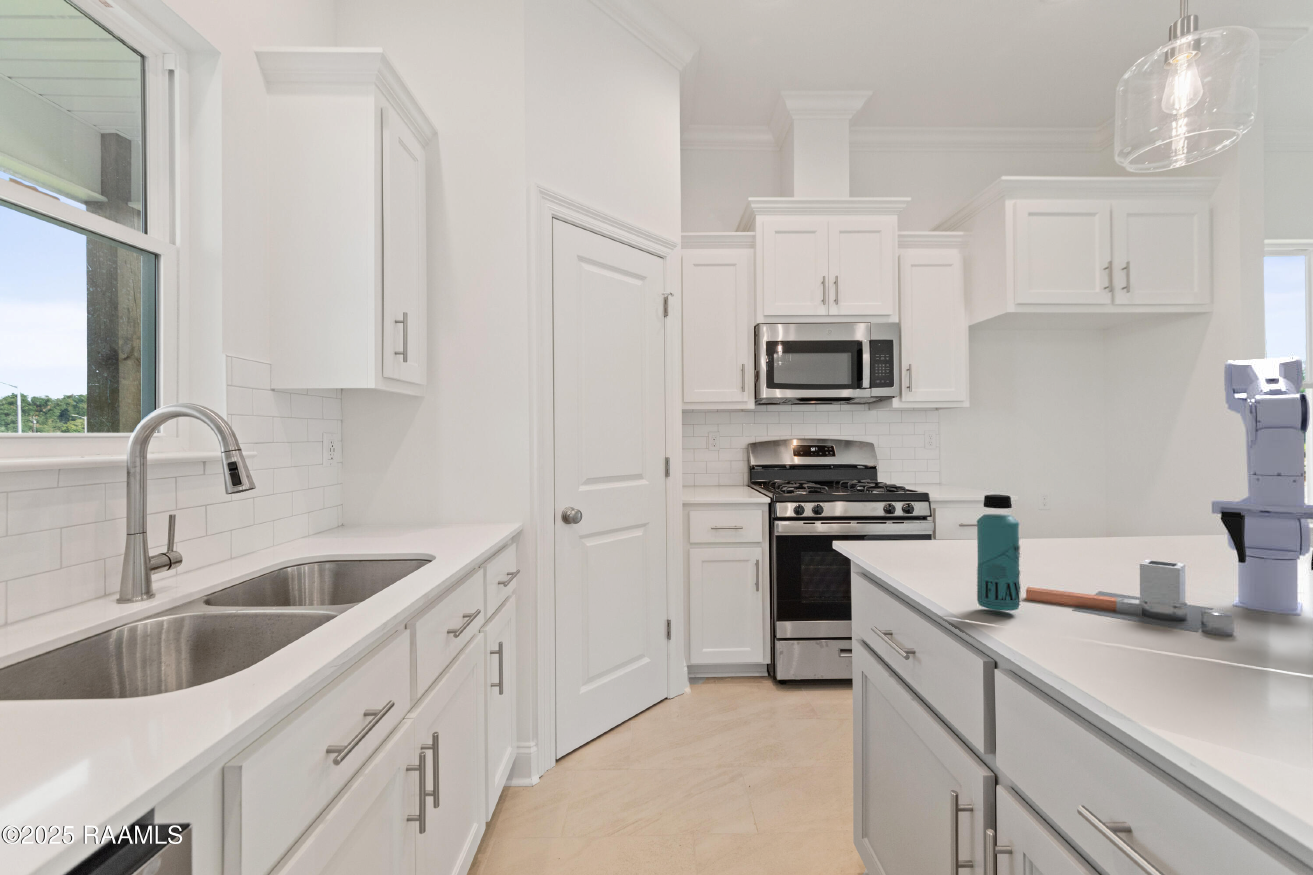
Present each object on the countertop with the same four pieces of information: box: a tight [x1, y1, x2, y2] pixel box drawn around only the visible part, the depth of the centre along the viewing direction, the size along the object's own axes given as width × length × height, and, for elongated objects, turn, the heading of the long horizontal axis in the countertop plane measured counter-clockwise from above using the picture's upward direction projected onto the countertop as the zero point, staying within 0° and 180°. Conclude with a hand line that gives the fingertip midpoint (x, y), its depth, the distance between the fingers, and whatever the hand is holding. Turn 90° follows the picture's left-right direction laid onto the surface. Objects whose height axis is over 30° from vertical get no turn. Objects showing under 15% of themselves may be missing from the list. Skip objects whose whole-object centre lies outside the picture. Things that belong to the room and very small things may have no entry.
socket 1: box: [1139, 559, 1186, 607], centre depth 100 cm, size 5×5×6 cm
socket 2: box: [1200, 609, 1235, 638], centre depth 92 cm, size 4×4×3 cm
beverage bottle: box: [975, 493, 1022, 612], centre depth 103 cm, size 6×7×20 cm
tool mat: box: [1071, 590, 1214, 633], centre depth 104 cm, size 18×16×1 cm
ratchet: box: [1025, 586, 1188, 622], centre depth 105 cm, size 22×6×4 cm, turn 52°
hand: (1277, 565), depth 93 cm, fingers open, 7 cm apart
